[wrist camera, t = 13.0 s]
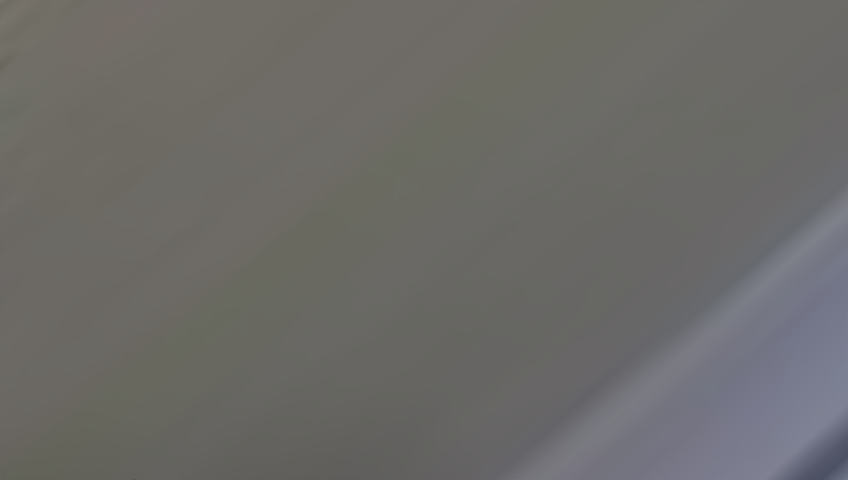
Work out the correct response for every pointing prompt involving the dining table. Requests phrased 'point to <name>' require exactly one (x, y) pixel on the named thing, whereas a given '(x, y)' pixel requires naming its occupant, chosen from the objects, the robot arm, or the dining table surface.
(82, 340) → the dining table surface
